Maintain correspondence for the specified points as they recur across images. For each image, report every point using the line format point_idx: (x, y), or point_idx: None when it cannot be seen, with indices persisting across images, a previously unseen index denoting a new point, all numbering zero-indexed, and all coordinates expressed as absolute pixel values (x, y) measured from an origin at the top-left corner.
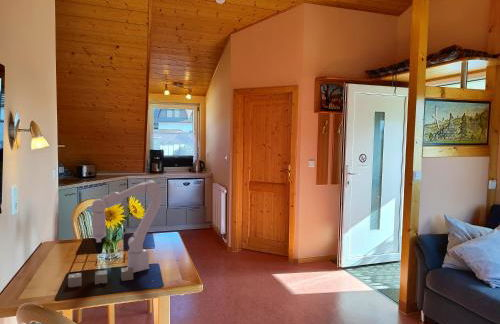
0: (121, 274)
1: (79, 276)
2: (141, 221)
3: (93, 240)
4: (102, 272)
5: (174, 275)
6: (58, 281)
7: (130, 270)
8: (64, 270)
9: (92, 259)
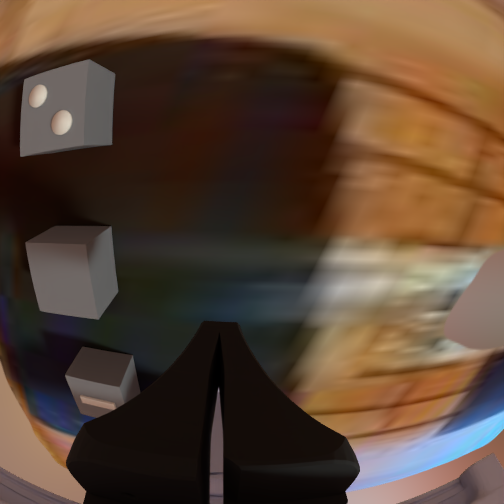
0: (78, 366)
1: (27, 144)
2: None
3: (69, 460)
4: (61, 289)
5: None
6: (181, 12)
7: (84, 407)
8: (384, 50)
9: (485, 225)
